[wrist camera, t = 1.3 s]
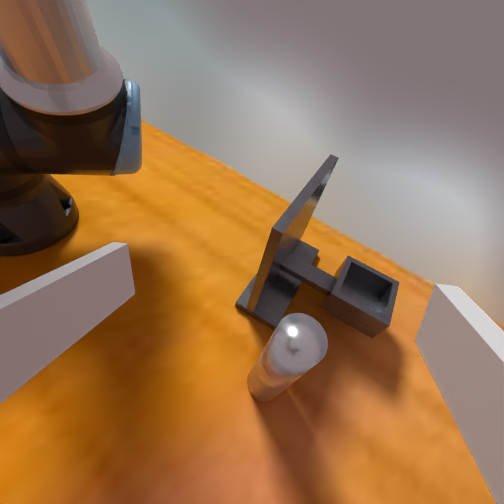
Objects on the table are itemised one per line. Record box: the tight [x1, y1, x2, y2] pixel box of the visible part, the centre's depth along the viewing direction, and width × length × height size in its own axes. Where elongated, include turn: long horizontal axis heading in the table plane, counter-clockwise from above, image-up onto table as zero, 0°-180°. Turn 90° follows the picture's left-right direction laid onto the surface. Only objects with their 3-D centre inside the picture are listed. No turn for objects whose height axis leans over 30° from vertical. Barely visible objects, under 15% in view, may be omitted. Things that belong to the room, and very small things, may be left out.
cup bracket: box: [235, 155, 399, 338], centre depth 36 cm, size 19×18×19 cm
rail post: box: [247, 313, 328, 401], centre depth 28 cm, size 4×4×16 cm
